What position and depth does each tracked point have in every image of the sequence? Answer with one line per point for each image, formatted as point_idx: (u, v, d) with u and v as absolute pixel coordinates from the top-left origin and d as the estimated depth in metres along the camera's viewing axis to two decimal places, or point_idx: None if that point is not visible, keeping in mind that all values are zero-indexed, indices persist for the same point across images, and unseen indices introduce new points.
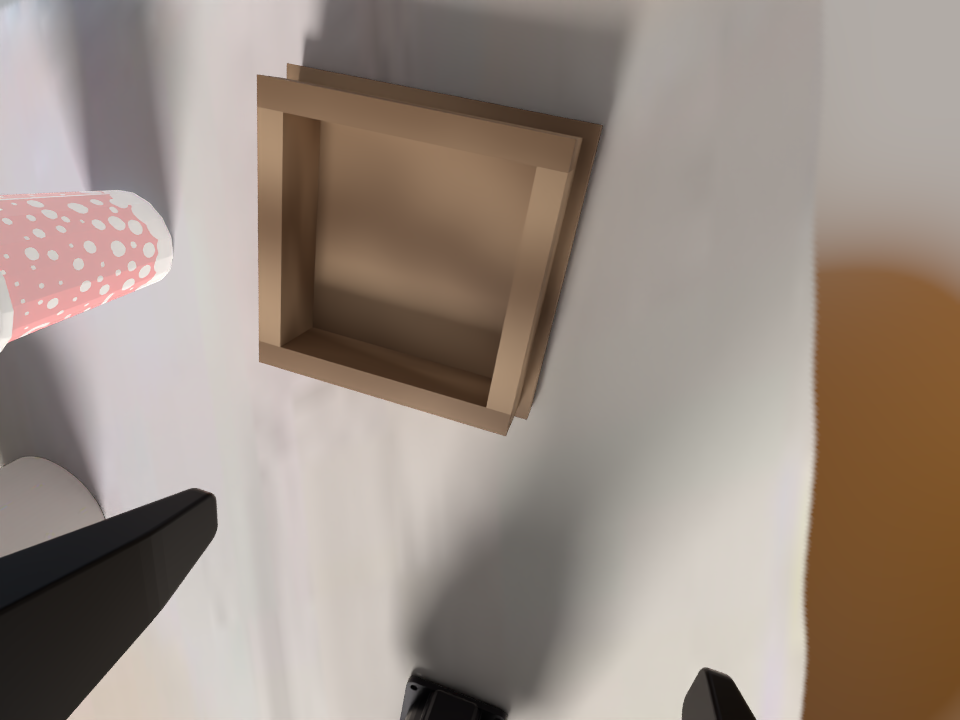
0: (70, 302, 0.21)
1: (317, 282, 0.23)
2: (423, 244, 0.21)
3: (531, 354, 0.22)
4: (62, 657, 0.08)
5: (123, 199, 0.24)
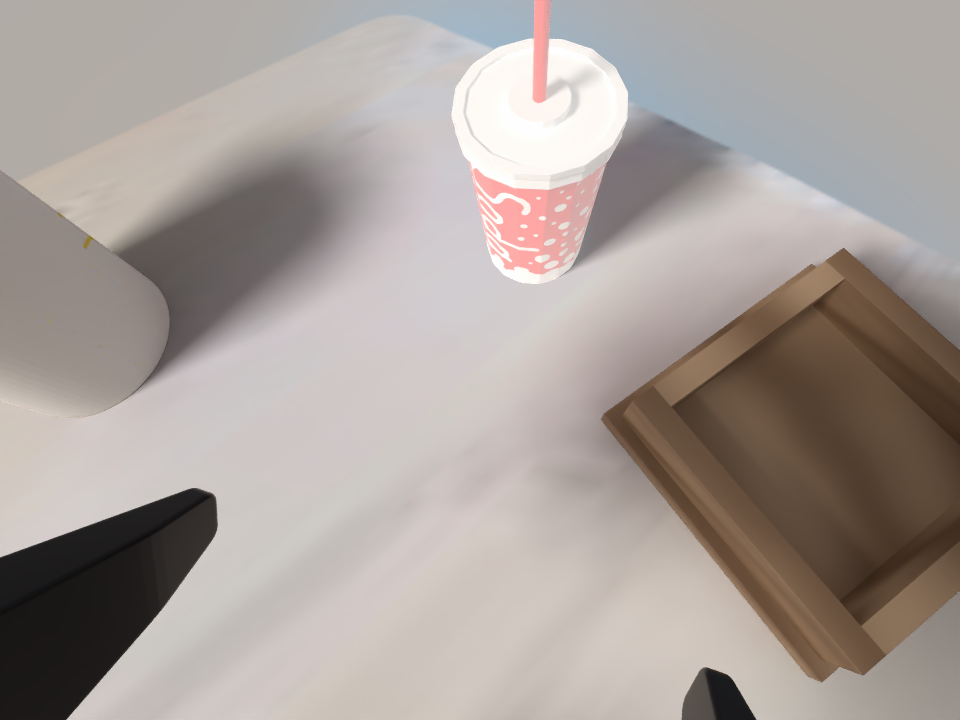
0: (551, 221, 0.21)
1: (698, 394, 0.23)
2: (830, 445, 0.22)
3: None
4: (62, 657, 0.08)
5: None
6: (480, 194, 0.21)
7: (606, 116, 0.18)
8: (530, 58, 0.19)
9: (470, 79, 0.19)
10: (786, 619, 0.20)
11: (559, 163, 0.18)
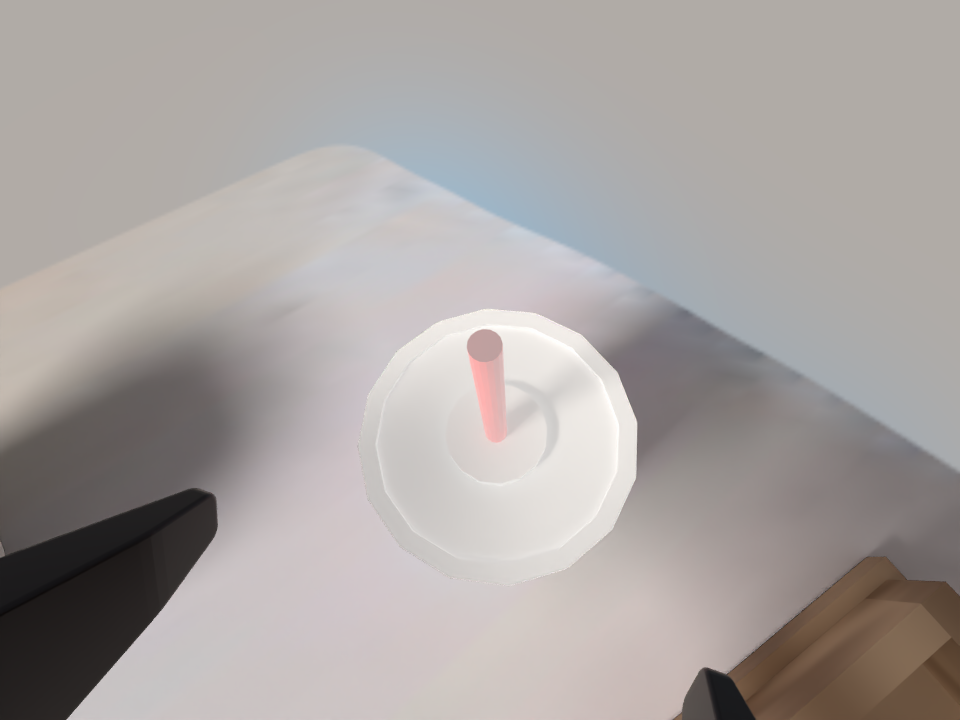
0: None
1: None
2: None
3: None
4: (62, 657, 0.08)
5: None
6: None
7: (602, 465, 0.11)
8: None
9: (392, 379, 0.12)
10: None
11: (525, 559, 0.11)
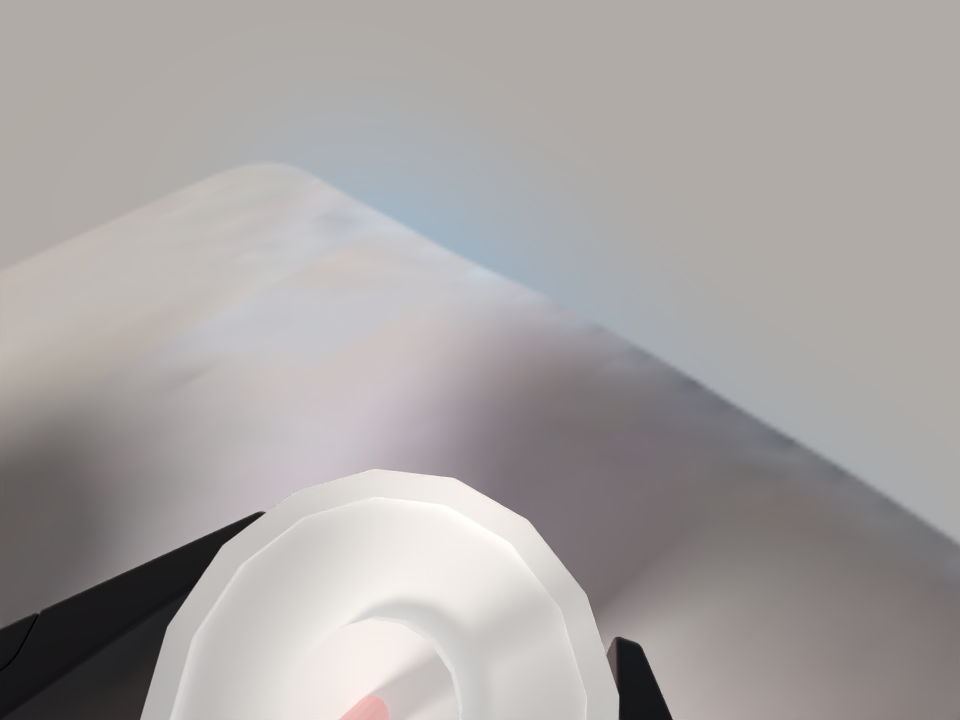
0: None
1: None
2: None
3: None
4: (144, 692, 0.07)
5: None
6: None
7: None
8: (373, 528, 0.08)
9: (210, 598, 0.07)
10: None
11: None
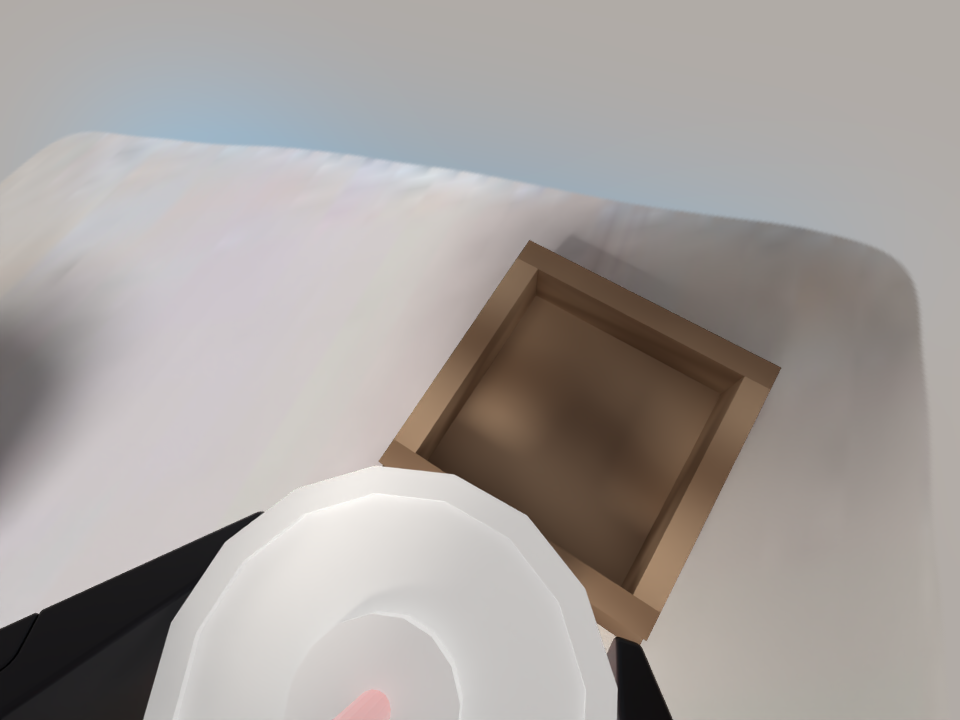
0: None
1: (458, 420, 0.23)
2: (585, 421, 0.22)
3: None
4: (144, 692, 0.07)
5: None
6: None
7: None
8: (374, 524, 0.08)
9: (213, 594, 0.07)
10: (591, 604, 0.20)
11: None
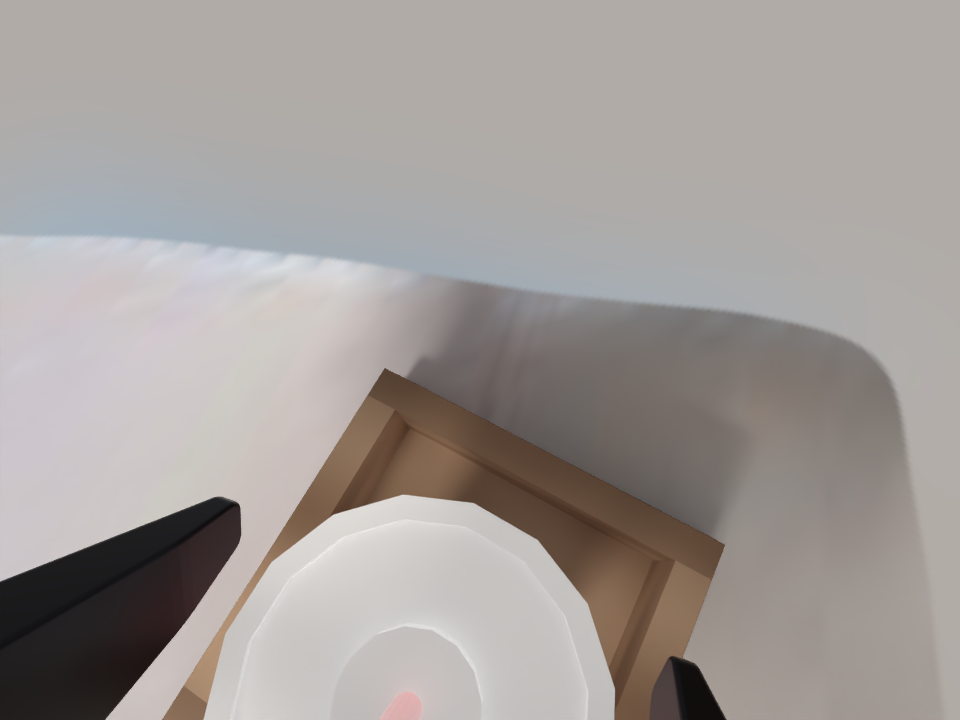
0: None
1: None
2: None
3: None
4: (92, 670, 0.08)
5: None
6: None
7: None
8: (403, 547, 0.09)
9: (262, 608, 0.08)
10: None
11: None
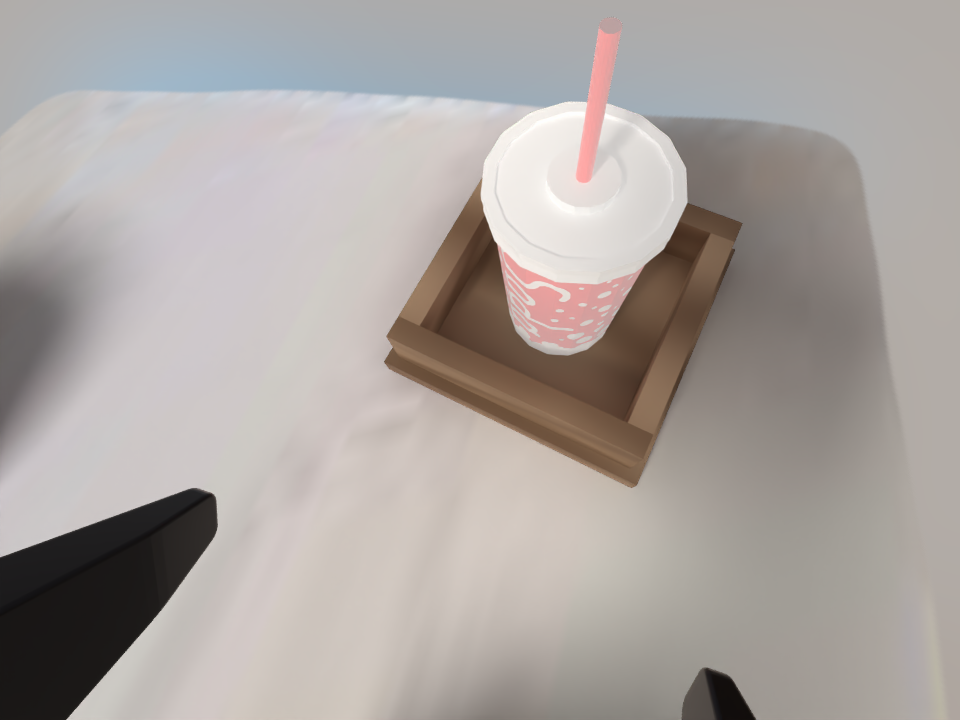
0: (592, 306, 0.18)
1: (455, 308, 0.25)
2: None
3: None
4: (62, 657, 0.08)
5: None
6: (509, 275, 0.18)
7: (662, 198, 0.16)
8: (569, 125, 0.17)
9: (501, 151, 0.16)
10: (592, 451, 0.22)
11: (610, 257, 0.15)
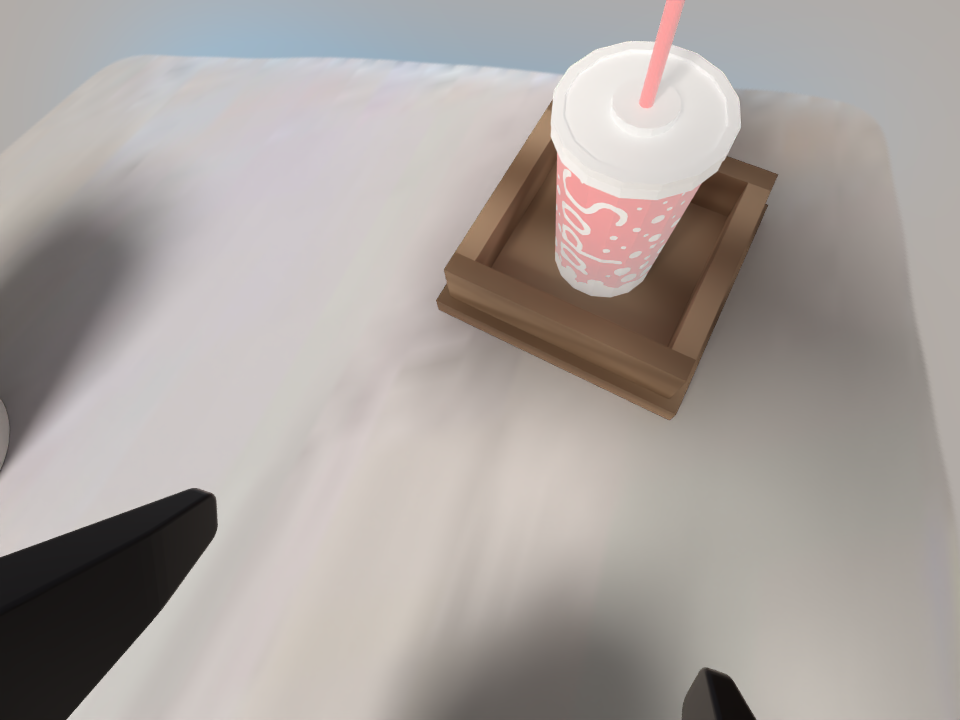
0: (644, 233, 0.20)
1: (503, 253, 0.26)
2: None
3: None
4: (62, 657, 0.08)
5: None
6: (568, 203, 0.20)
7: (717, 123, 0.17)
8: (630, 61, 0.18)
9: (568, 82, 0.18)
10: (633, 383, 0.23)
11: (671, 172, 0.17)
